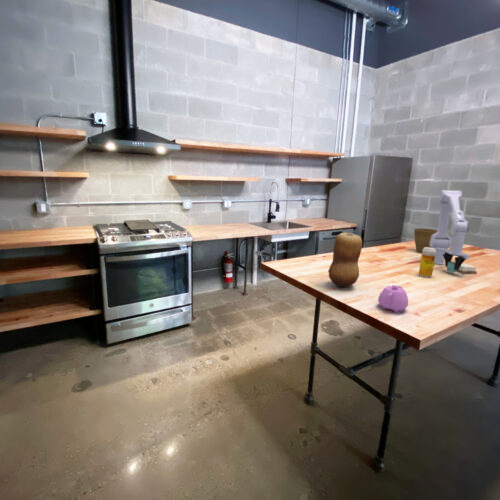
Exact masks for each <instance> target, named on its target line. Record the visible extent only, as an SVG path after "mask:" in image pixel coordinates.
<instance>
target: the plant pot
mask: <svg viewBox="0 0 500 500" xmlns="http://www.w3.org/2000/svg"><path fill="white" fill-rule="evenodd" d="M437 230H438V229H433V228H432V229H431V228H414V230H413V231H414V232H413V233H414V242H415V243H414V245H415V249H416V252H417V253H419V254H422V251H423V249H424V247H430V248H431V246H430V239H431V236H432V235H433V234H435V233H436V232H437Z"/></svg>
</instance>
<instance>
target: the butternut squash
mask: <svg viewBox="0 0 500 500" xmlns="http://www.w3.org/2000/svg"><path fill="white" fill-rule="evenodd" d="M362 240H363V239H362V237H361V236H360V235H357V234H354V233H350V232H341V233H339V234H338V235H336V238H335V240H334V244H333V245H334V246H333V251H332V252H333V254H332V261H331V263H330V266H329V268H328V271H327V272H328V277H329V280H330V281H331V282H332V283H333V284H334V286H336V287H342V288H343V287H345V288H346V287H349V286H352V285H354V284H355V283H357V281H358V279H359V276H360V269H359V259H360V256H361V253H362V249H363V241H362Z"/></svg>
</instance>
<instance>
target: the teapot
mask: <svg viewBox="0 0 500 500" xmlns="http://www.w3.org/2000/svg"><path fill="white" fill-rule="evenodd" d="M377 301H378V304H379V305H380V306H381V309H383V310H393V312H394V313H396V314H398V313H400V311H404V310H405V309H406V308H408V306H409V297H408V295H407V292H406V290H405V289H404V288H403V286H401V285H397V284H396V285H395V284H393V285H386V286H385V288H383V289H382V290H381V292H380V294H379V296H378V300H377Z"/></svg>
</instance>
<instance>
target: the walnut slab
mask: <svg viewBox="0 0 500 500" xmlns="http://www.w3.org/2000/svg"><path fill="white" fill-rule="evenodd" d="M456 273H458V274H461V275H477V273H478V271H477V270H475V271H461V270H457V272H456Z"/></svg>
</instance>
